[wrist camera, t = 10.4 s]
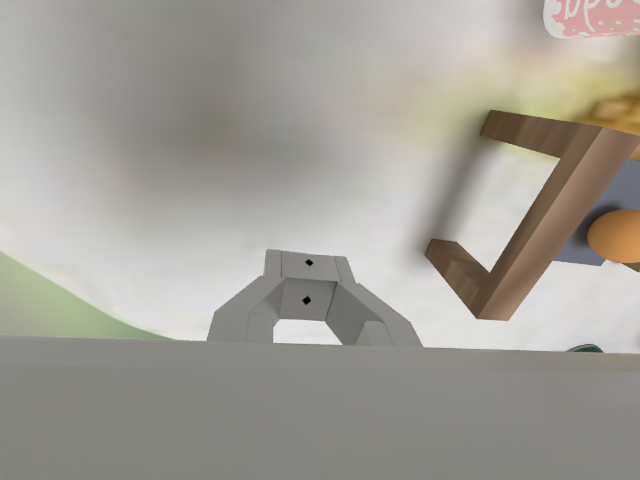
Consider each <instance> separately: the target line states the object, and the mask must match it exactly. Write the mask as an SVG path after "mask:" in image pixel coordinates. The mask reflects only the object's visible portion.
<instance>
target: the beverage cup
mask: <svg viewBox="0 0 640 480" xmlns="http://www.w3.org/2000/svg"><path fill="white" fill-rule="evenodd" d="M543 20H544V24H545V29H546V30H547V31H548V32H549V33H550V35H551V36H552V37H556V38H561V39H568V38H587V37H605V36H624V35H640V0H545V4H544V11H543Z"/></svg>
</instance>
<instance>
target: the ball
mask: <svg viewBox="0 0 640 480" xmlns="http://www.w3.org/2000/svg"><path fill="white" fill-rule="evenodd" d="M587 240H588V243H589V245H590V247H591V248H592V250H593V251H594V252H595V253H596V254H598V255H599V256H601V257H603V258H605V259H607V260H610V261H614V262H619V263H636V262H640V210H633V209H623V210H616V211H612V212H609V213H606V214H604V215H602V216H600V217H599V218H597V219H596V220H595V221H594V222H593V223H592V224H591V226H590V228H589V230H588V234H587Z"/></svg>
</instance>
